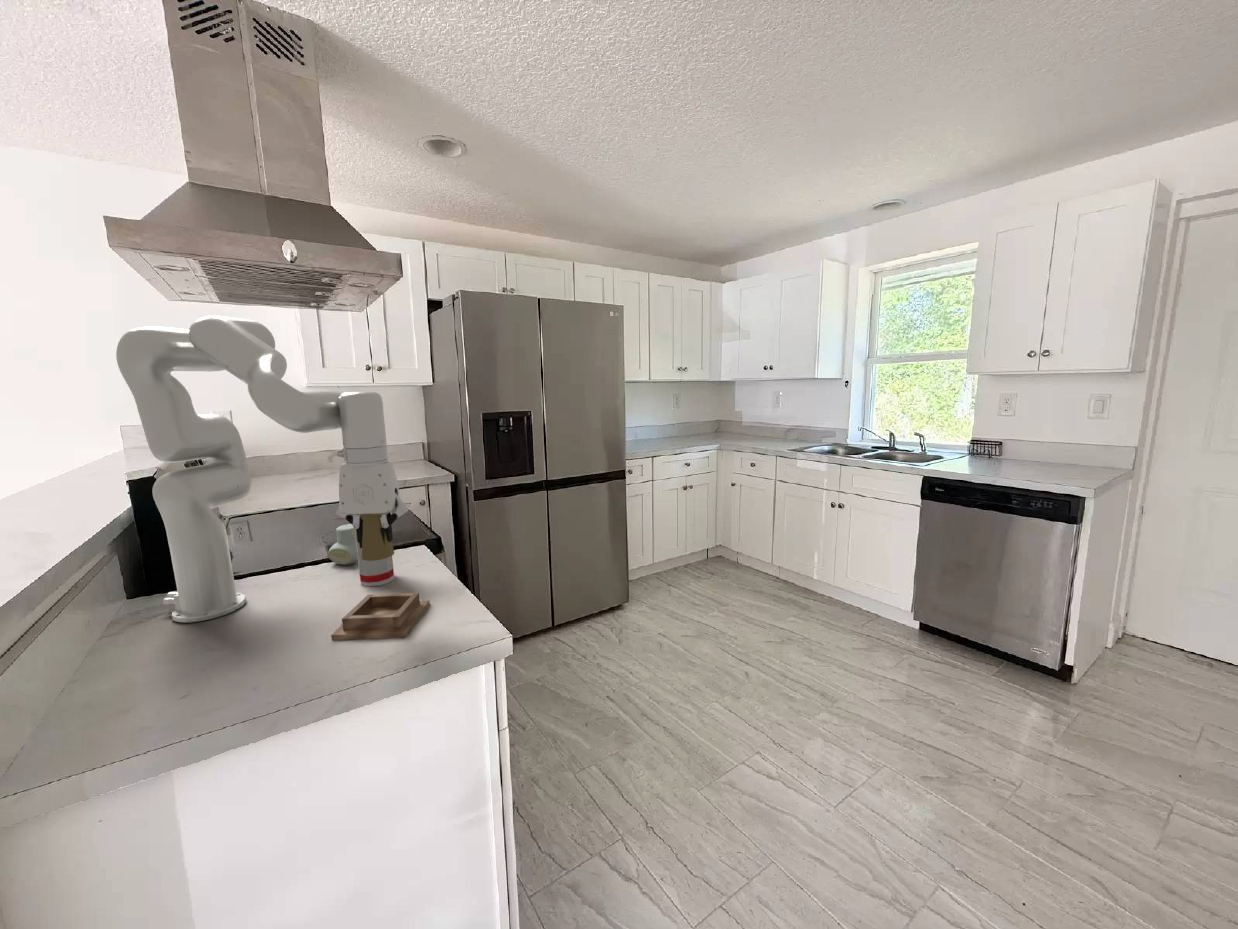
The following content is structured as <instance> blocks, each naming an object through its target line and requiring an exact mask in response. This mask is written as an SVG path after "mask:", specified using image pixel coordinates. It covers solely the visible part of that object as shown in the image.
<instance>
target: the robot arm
mask: <svg viewBox="0 0 1238 929" xmlns="http://www.w3.org/2000/svg"><path fill="white" fill-rule="evenodd" d="M115 357H116V363H117V366H118V370H119V372H120V374H121V375H122V376H121V377H122V378H123V380H124V381H125V384H127V386H128V388H129V390H130V392H131V394H132V396H133V400H134V402H135V404H136V409H137V412H138V415H139V419H140V421H141V425H142V428H143V432H144V435H145V439H146V442H147V445H148V447H149V448H148V449H149V450H150V452H151V453H152V455H153V457H154V458H155V459H157V460H158V461H160V462H163V463H171V464H172V463H173V464H174V463H182V462H191V461H196V460H201V459H202V460H203V459H205V462H206V464H202V465H201V464H200V465H196V466H189V467H185V468H184V467H183V468H178V469H175V470H171V471H169V472H166V473H164V474H163V475H160V476H159V477H158V478H157V479H156V480H155V482H154V484H153V485H152V489H151V490H152V492H151V493H152V498H153V501H154V502H155V505H156V508H157V509H158V510H157V511H158V512H159V513H160V516H161V519H162V521H163V524H164V528H165V531H166V537H167V542H168V547H169V552H170V557H171V564H172V569H173V573H174V574H173V575H174V580H175V585H176V590H177V591H169V592H168V593H167V594H166V597H165V598H163V600H162V603H163V605H174V610H173V611H172V612H171V618H172V620H173V621H174V622H176V623H185V624H187V623H197V622H198V623H199V622H203V621H204V622H205V621H208V620H213V619H215V618H220V617H222V616H226V615H229V614H230V613H232V612H235V611H237V610H239V609H240V608H242V607H243V606H244V605H245V604H246V603H247V598H246V595H245V594H244V593H240V592H237V588H236V584H235V577H234V572H233V570H234V569H233V565H232V559H231V553H230V552H231V551H230V547H229V541H228V534H227V530H226V527H225V524H224V523H223V521H222V520H221V519H220V518H219V517H218V515H216V514H215V513H214V512H213V509H215V508H218V507H221V506H225V505H228V504H232V503H235V502H239V501H241V500H244V499H245V498H246V497H247V496H248V495H249V494H250V493H251V489H252V485H253V484H252V475H251V471H250V467H249V463H248V460H247V456H246V452H245V449H244V444H243V440H242V438H241V434H240V432H239V430H238V428H237V426H236V425H234V423H233V422H232V421H231V420H230V419H229V418H227V417H225V416H224V415H221V414H215V413H204V414H202V413H201V414H197V413H196V411H195V408H194V405H193V400H192V397H191V395H190V393H189V391H188V390H187V389H186V387H185V385H184V384H182V383H181V381H179V380H178V378H176V377H175V376H174V375H172V374H171V373H172V372H209V373H210V372H220V371H226V372H228V373H230V374H231V375H233V376H234V377H236V378H237V379H238V380H240V381H241V382H244V384H246V385H247V392H248V394H249V396H250V398H251V400H252V403H253V404H254V406H255V407H256V408H257V409H258V410H259V411H260V412H261V413H262V414H264V415H265V416H267V417H268V418H269V419H271V420H272V421H274V422H275V423H277V424H279V425H280V426H282V427H283V428H286V429H287V430H290V431H293V432H295V433H300V434H301V433H302V434H308V433H315V432H320V431H329V430H330V431H331V430H339V429H341V435H342V438H341V439H342V446H343V447H342V449H339V450H338V451H337V454H336V455H337V457H338V458H343V461H344V463H341V464H340V468H339V475H338V499H339V506H338V508H337V510H336V512H335V514H336V515H337V516H338V517H341V518H342V519H345V520H346V521H347V522H349V524H352V525H353V528H355V529H356V532H357V541H358V543H359V546H360V548H362V534H363V529H362V527H363V520H362V519H361V518H360V515H364V514H373V515H374V514H382V517H381V518H380V520H381V523H382V527H383V528H381V529H380V531H381V535H382V538H383V542H384V545H385V533H386V537H387V541H388V542H391V541H393V540H394V536H393V527H392V526H393V524H394V523H395V522H396V520H397V519H398V518H400V517H401V516H403V515H404V514H407V512H408V511H409V509H408V507H407V506H406V504H405V503H404V502H403V500H402V499H401V495H400V488H399V482H398V479H397V475H396V471H395V468H394V465H393V462H392V460H389V453H388V442H387V433H386V422H385V413H384V404H383V403H384V402H383V397H382V395H381V394H380V393H378V392H376V391H350V392H349V391H341V390H340V391H339V390H312V391H309V390H308V391H307V390H306V391H300V390H298V389H297V388H295V387H293V386H292V385H290V384H288V383H287V382H285V381H284V380H283V377H284V376H285V375H286V372H287V368H288V362H287V359H286V358H285V355H283V353H281V352H280V351H278V350H276V341H275V337H274V335H273V334H272V332H271V331H270V330H269V329H268V327H266V326H265V325H264V324H262V323H260V322H258V321H255V320H252V319H245V318H236V317H229V316H221V315H207V316H203V317H200V318H198V319H196V320H194V322H192V324H191V325H190V326H189V328H188V329H187V328H185V329H184V328H177V327H176V328H175V327H168V326H167V327H166V326H143V327H137V328H136V327H135V328H133V329H130V330H129V331H127V332H125V333H124V334H123V335H122V336H121V338H120V339H119V341H118V343H117V346H116V355H115ZM394 509H396V511H395V512H393V513H392V511H394ZM236 609H237V610H236Z"/></svg>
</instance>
